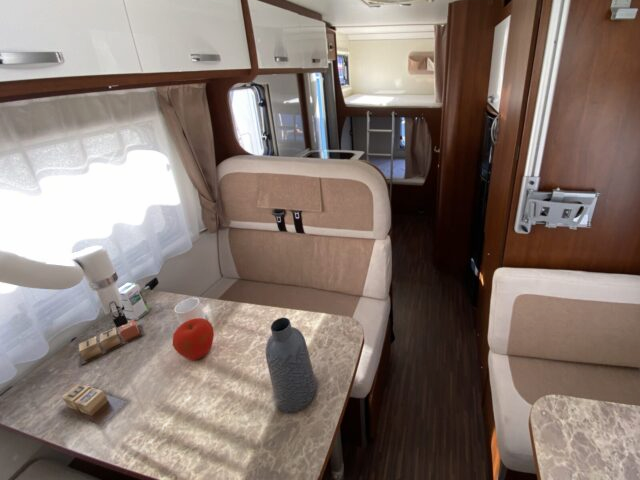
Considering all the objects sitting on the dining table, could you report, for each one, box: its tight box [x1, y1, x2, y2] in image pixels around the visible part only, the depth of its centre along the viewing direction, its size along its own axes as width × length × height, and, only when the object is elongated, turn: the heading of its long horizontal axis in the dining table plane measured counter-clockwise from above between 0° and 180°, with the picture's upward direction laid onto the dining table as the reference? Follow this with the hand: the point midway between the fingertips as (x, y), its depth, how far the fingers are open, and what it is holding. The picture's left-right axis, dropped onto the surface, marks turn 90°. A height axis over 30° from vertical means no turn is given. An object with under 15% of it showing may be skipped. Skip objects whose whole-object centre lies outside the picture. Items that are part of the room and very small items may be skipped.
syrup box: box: [118, 282, 151, 321], centre depth 123 cm, size 6×6×14 cm
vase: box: [265, 317, 317, 414], centre depth 87 cm, size 12×12×28 cm
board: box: [78, 324, 144, 366], centre depth 111 cm, size 17×7×6 cm, turn 134°
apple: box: [172, 318, 215, 361], centre depth 104 cm, size 12×12×14 cm
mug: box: [173, 297, 207, 326], centre depth 118 cm, size 12×8×10 cm
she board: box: [61, 382, 128, 427], centre depth 90 cm, size 17×7×6 cm, turn 74°
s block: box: [118, 319, 139, 340], centre depth 114 cm, size 4×4×5 cm
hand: (120, 317), depth 111 cm, fingers open, 9 cm apart
